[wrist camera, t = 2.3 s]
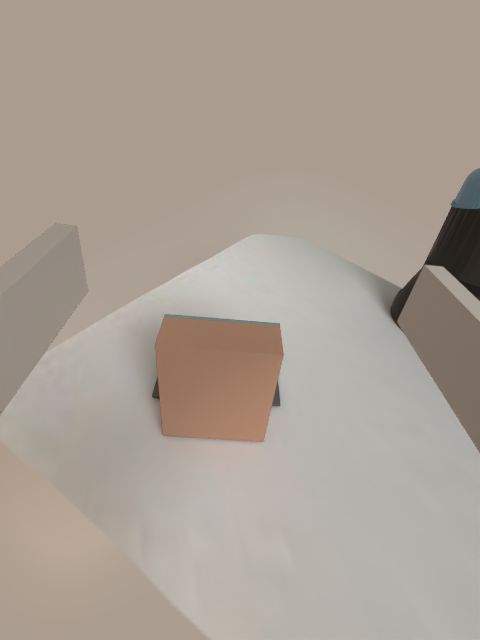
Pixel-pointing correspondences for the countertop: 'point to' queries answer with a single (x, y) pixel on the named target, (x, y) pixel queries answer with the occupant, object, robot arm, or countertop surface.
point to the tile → (217, 376)
